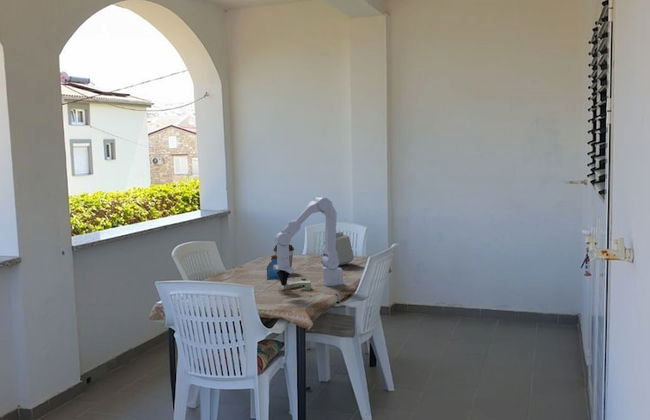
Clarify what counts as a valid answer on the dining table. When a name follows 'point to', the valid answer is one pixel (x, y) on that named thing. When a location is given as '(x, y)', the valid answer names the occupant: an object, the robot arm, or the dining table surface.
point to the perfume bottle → (272, 269)
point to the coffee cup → (289, 254)
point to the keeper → (306, 283)
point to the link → (290, 285)
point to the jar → (343, 248)
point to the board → (296, 289)
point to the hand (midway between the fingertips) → (284, 286)
